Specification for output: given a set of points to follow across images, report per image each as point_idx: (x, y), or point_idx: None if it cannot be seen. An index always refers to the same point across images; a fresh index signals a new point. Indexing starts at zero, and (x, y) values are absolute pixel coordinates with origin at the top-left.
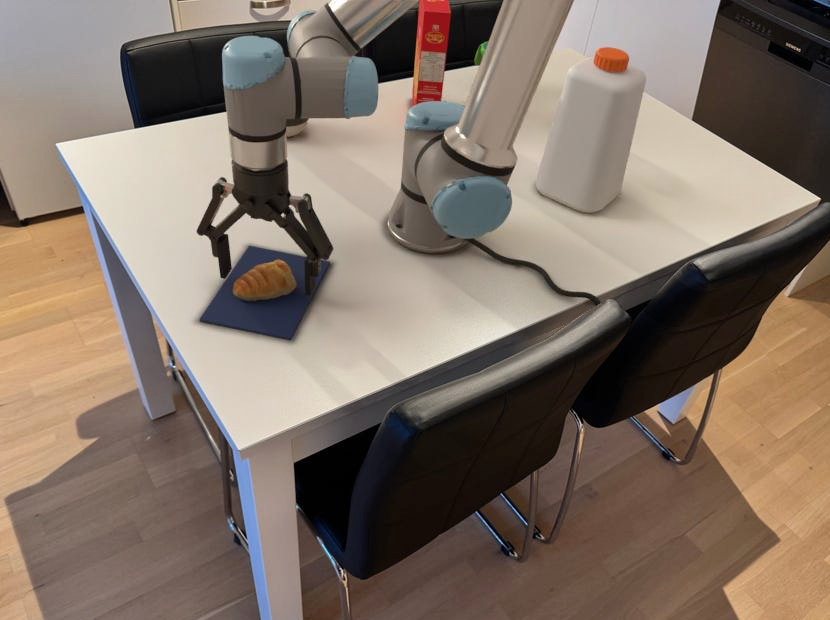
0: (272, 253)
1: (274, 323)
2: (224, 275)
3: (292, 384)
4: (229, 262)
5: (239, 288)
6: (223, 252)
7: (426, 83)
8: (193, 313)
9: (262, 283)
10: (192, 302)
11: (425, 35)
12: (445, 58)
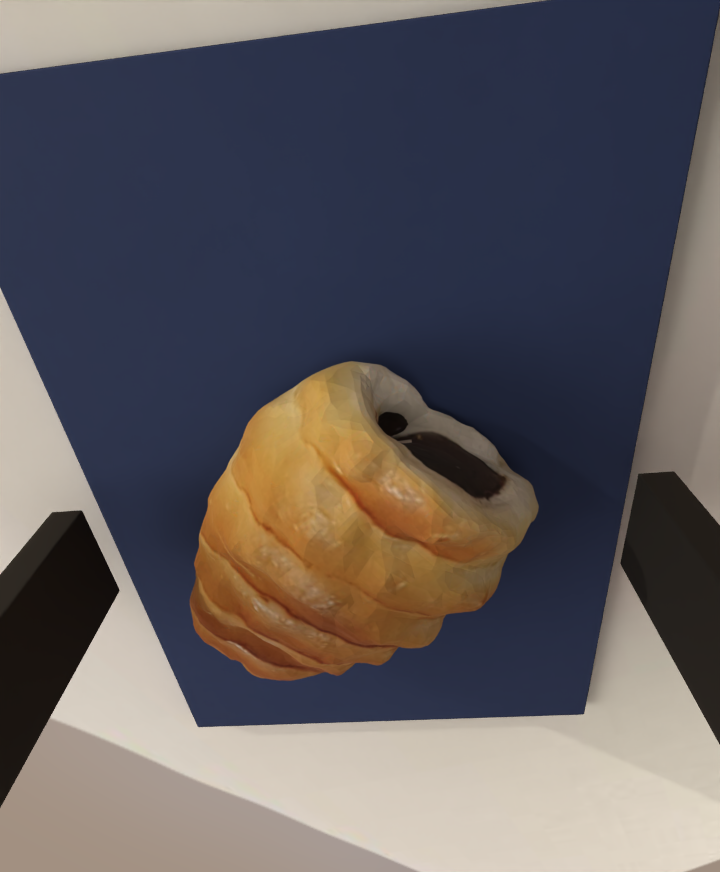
0: (160, 116)
1: (490, 676)
2: (107, 610)
3: (633, 817)
4: (54, 578)
5: (258, 676)
6: (5, 767)
7: None
8: (148, 693)
9: (368, 660)
10: (94, 653)
11: None
12: None
